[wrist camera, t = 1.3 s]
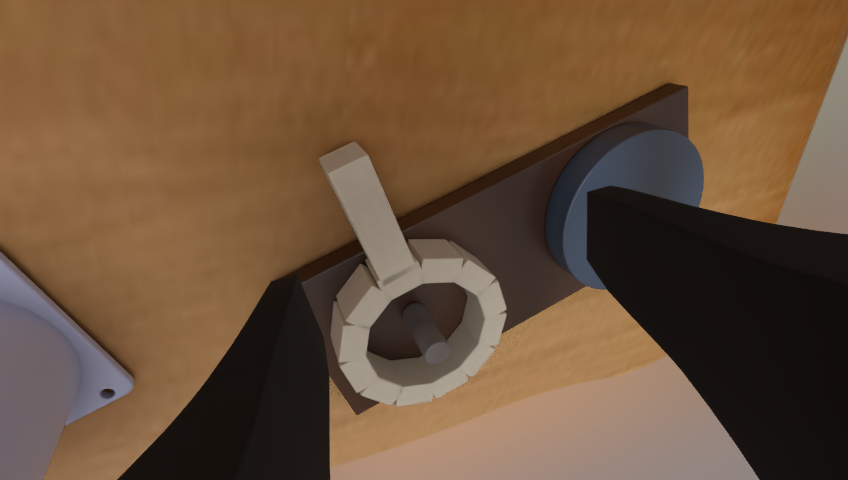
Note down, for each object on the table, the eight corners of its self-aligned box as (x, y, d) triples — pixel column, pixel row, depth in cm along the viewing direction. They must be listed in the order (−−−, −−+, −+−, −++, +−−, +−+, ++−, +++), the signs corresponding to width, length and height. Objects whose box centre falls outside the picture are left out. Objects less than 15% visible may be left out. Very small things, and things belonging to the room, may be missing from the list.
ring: (370, 402, 24) (381, 431, 22) (238, 194, 17) (240, 215, 15) (501, 328, 25) (520, 351, 23) (427, 106, 18) (447, 116, 17)
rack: (351, 399, 25) (382, 497, 20) (272, 282, 20) (286, 371, 15) (673, 220, 28) (769, 266, 23) (669, 82, 24) (788, 102, 18)
